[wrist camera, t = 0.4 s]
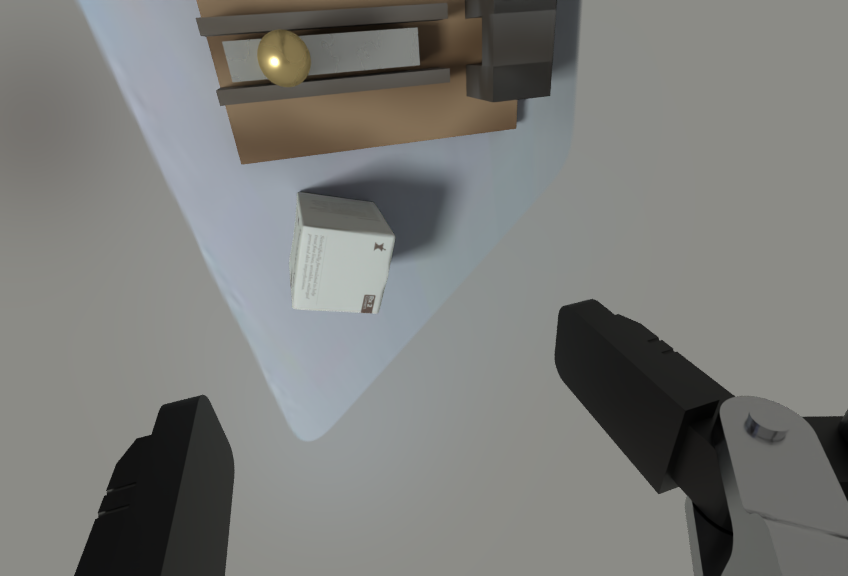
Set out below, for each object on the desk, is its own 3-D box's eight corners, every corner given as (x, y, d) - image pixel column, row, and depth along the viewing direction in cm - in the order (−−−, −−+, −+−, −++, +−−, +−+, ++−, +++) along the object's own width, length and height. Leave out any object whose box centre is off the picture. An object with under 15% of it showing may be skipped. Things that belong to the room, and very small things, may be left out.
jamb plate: (183, -60, 24) (158, -89, 19) (512, -68, 28) (563, -93, 23) (243, 159, 30) (236, 181, 25) (507, 125, 34) (547, 138, 29)
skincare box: (296, 189, 32) (300, 223, 26) (376, 201, 34) (398, 234, 28) (288, 264, 35) (290, 311, 28) (363, 270, 37) (380, 315, 31)
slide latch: (224, 38, 25) (208, 34, 19) (408, 25, 27) (444, 18, 21) (236, 84, 26) (224, 93, 20) (411, 67, 29) (446, 72, 23)
